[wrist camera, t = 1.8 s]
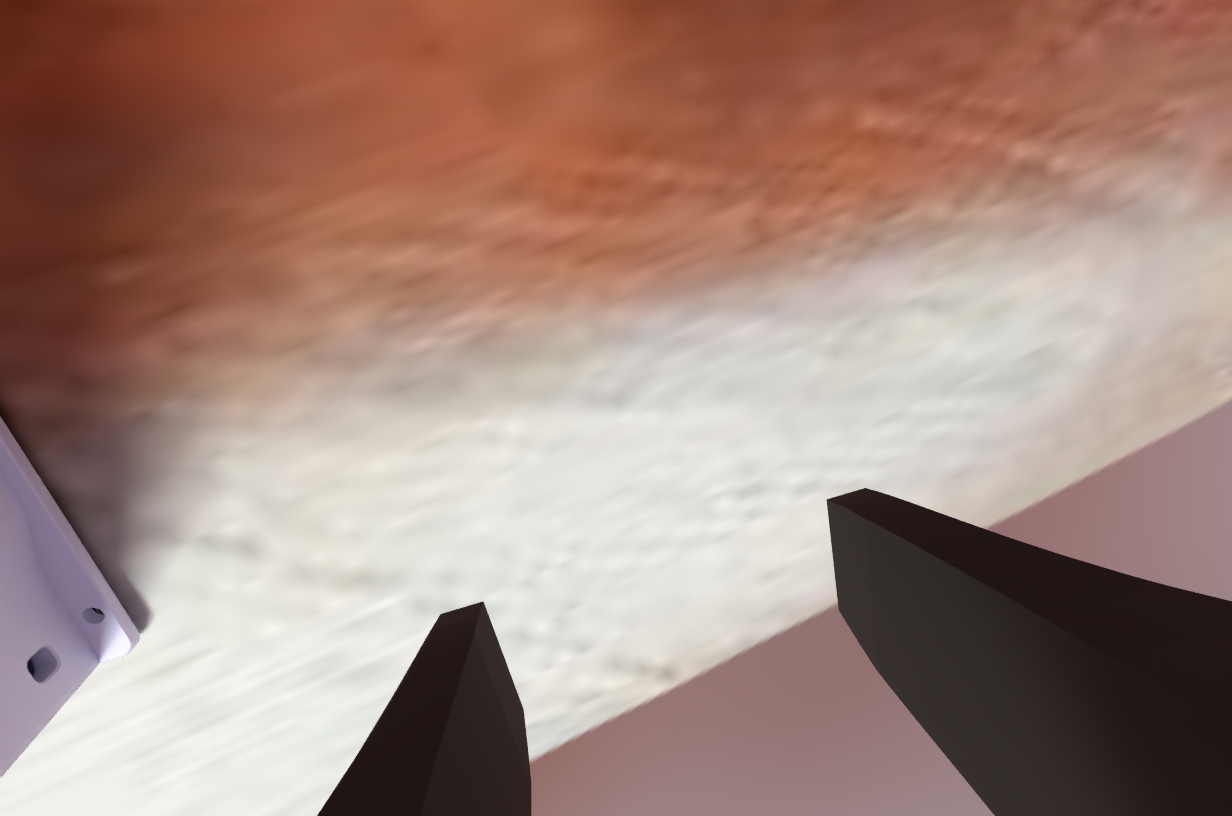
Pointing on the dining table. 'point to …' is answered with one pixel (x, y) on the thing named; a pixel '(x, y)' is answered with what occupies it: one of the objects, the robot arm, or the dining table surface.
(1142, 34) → the dining table surface
